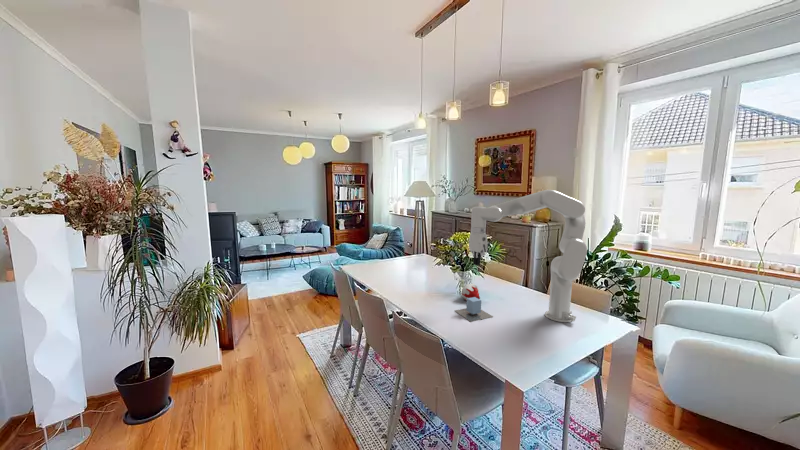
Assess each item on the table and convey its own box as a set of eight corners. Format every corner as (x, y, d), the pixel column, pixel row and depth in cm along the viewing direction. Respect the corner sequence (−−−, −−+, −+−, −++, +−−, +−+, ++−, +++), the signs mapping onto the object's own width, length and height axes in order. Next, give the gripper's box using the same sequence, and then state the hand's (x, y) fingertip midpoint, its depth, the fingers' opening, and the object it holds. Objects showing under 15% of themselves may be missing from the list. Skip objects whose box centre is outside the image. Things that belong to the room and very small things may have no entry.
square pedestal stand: (493, 317, 155) (493, 303, 154) (470, 321, 150) (471, 307, 149) (475, 307, 168) (476, 294, 167) (454, 311, 162) (454, 297, 162)
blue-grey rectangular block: (480, 312, 157) (481, 300, 157) (472, 314, 155) (473, 301, 154) (474, 308, 162) (475, 297, 161) (466, 310, 160) (466, 298, 159)
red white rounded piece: (471, 293, 188) (486, 305, 174) (455, 295, 184) (469, 307, 170) (472, 280, 186) (488, 290, 172) (456, 281, 182) (471, 293, 168)
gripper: (493, 231, 153) (491, 267, 156) (475, 228, 167) (473, 260, 169) (481, 232, 150) (480, 268, 153) (463, 228, 164) (462, 262, 166)
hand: (476, 264), depth 161 cm, fingers closed
